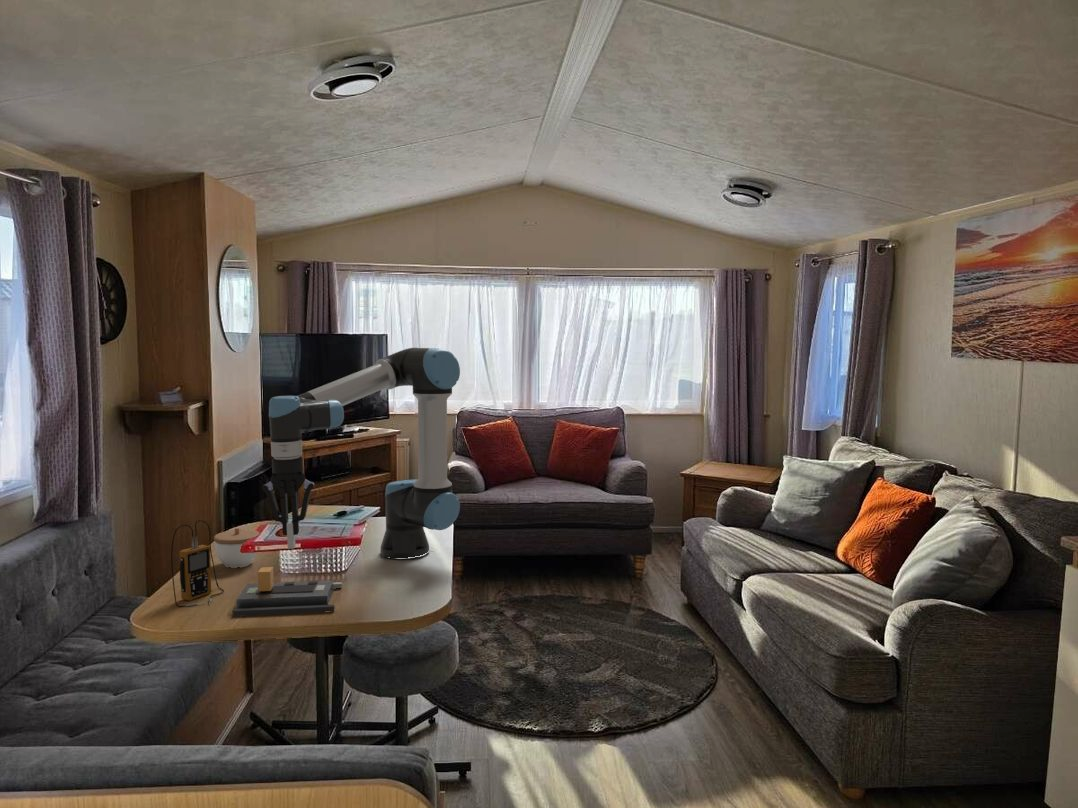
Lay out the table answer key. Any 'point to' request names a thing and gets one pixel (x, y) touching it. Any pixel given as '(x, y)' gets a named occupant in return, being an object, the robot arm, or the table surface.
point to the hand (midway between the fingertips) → (291, 546)
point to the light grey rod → (337, 585)
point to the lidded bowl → (234, 547)
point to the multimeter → (195, 570)
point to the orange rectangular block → (265, 579)
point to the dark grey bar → (282, 610)
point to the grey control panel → (286, 595)
